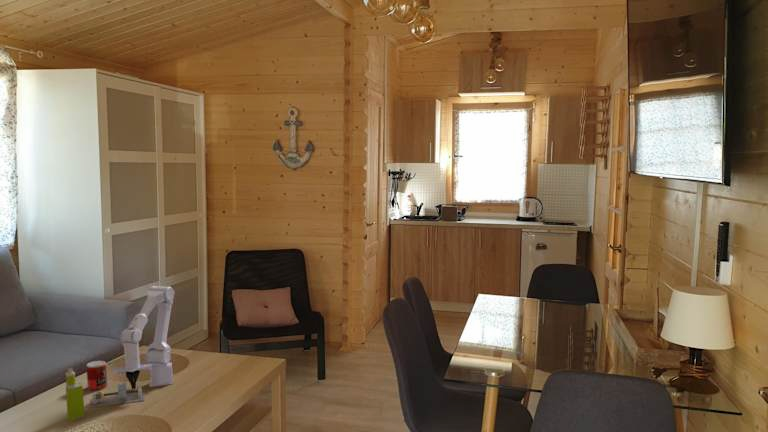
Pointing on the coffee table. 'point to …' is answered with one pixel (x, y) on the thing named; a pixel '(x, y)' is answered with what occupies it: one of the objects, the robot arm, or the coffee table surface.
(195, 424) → the coffee table surface
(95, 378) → the canned food
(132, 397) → the linear slide rail
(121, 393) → the sleeve
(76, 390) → the vape
